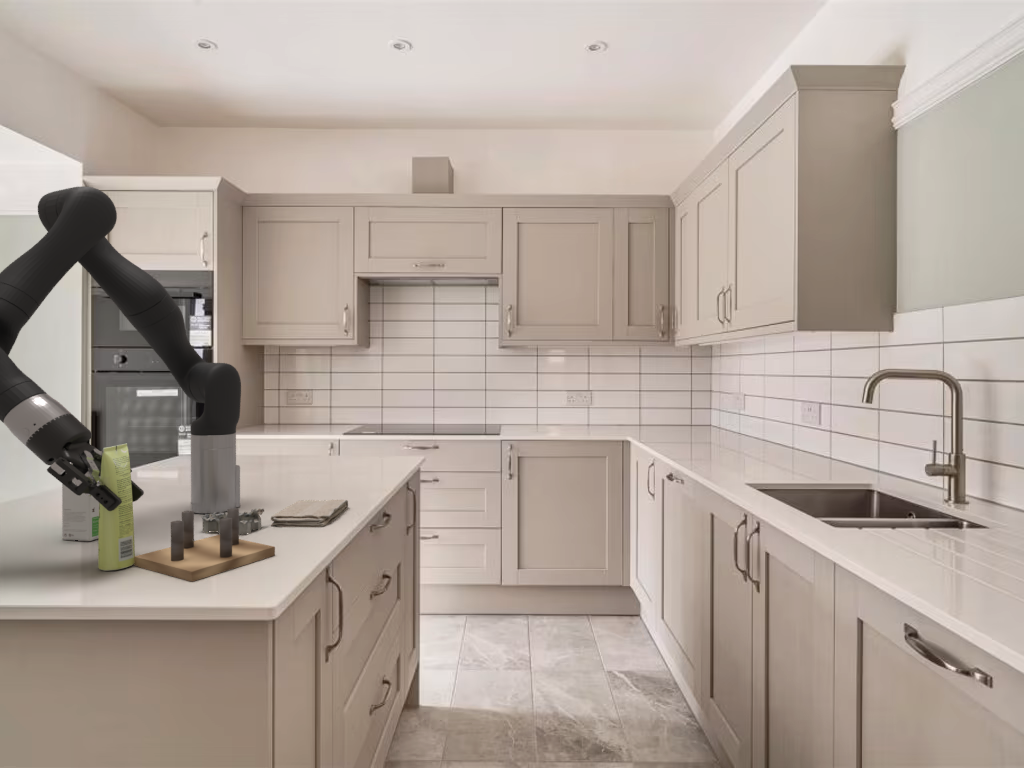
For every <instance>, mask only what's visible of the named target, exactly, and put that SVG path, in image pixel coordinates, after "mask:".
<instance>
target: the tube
mask: <svg viewBox="0 0 1024 768" xmlns="http://www.w3.org/2000/svg"><path fill="white" fill-rule="evenodd" d="M102 451H103V454H102V463H101V478H100V479H101V481H102V483H103V485H106V486H107V487H108V488H109V489H110V490H111V491H112V492H113V493H115V494H116V495H117V496H118V497H119V498H120V499H121V500H122V503H121V504H120V505H119V506H118V507H117V508H116V509H115V510H113V511H108V510H107V509H106V508H105V507H104V506H102V505H101V504H100V503H99V534H98V542H97V544H98V545H97V546H98V549H97V550H98V551H97V553H98V554H97V556H98V559H97V561H98V563H97V564H98V565H97V566H98V569H99V570H100V571H105V572H108V571H117V570H123V569H125V568H126V569H127V568H128V567H132V566H134V556H136V555H135V554H136V553H135V552H136V551H135V547H136V546H135V524H134V522H135V519H134V506H133V505H134V504H133V503H134V502H133V500H132V484H131V480H132V474H131V473H132V472H131V471H130V469H131V463H130V461H131V460H130V453H129V446H128V443H123V444H117V445H113V446H106V447H103V449H102ZM103 485H102V486H103Z"/></svg>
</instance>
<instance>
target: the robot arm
mask: <svg viewBox="0 0 1024 768" xmlns="http://www.w3.org/2000/svg"><path fill="white" fill-rule="evenodd" d="M37 214H38V218H39V220H40V222H41V224H42V226H43V227H44V229H45V231H47V232H46V234H45V235H44V236H43V237H41V239H40V240H38V241H37V242H36V244H34V245H33V246H32V247H31V248H29V249H28V250H27V251H25V252H24V253H23V254H22V255H20V256H19V257H17V258H16V259H15V260H13V261H12V262H11V263H9V264H8V265H7V266H6V267H5V268H3V270H1V272H0V421H1V422H2V423H3V424H4V425H5V426H6V427H7V428H8V430H9V431H10V432H11V434H13V436H14V437H15V438H17V439H18V440H19V442H21V444H23V445H24V446H26V448H27V449H29V451H31V453H33V454H34V455H35V456H36V457H38V458H39V459H40V460H41V462H43V463H44V464H45V465H47V466H49V467H48V468H47V469H46V472H47V473H49V474H50V475H51V476H53V478H55V479H56V480H58V481H59V482H60V483H61V485H62V484H64V485H65V486H66V487H67V488H69V489H70V490H71V491H72V492H74V493H75V494H76V495H79V496H80V495H82V494H83V493H85V494H86V495H87V496H91V495H92V496H93V497H94V498H95V499H96V500H97V501H98V502H99V503H100V504H101V505H102V506H104V507H105V508H106V509H107V510H108V511H113V510H115V509H116V508H117V507H118V506H119V505H120V504H121V503H122V500H121V499H120V498H119V497H118V496H117V495H116V494H115V493H113V492H112V491H111V490H110V489H109V488H108V487H107V486H106V485H103V483H102V481H101V479H100V478H101V463H102V454H103V450H99V449H98V448H97V447H95V446H94V445H92V444H91V443H90V442H91V441H90V440H91V439H92V436H93V434H92V431H91V430H90V429H89V428H88V427H87V426H86V425H84V423H82V422H81V421H80V420H79V419H78V418H77V417H76V416H75V415H73V414H72V413H71V412H70V410H68V409H67V408H66V407H65V406H64V405H63V404H61V403H60V402H59V401H58V400H56V399H55V398H54V397H52V396H51V395H50V394H48V393H47V392H46V391H45V390H44V389H43V388H42V387H41V386H40V385H38V384H37V383H36V382H35V381H34V380H33V379H32V378H31V377H29V376H28V375H27V374H25V373H24V372H23V371H22V370H21V369H20V368H19V367H18V366H17V364H16V363H15V362H14V361H13V360H12V358H10V356H9V355H10V354H11V351H12V349H13V347H14V346H15V343H16V342H17V338H18V336H19V335H20V332H21V330H22V329H23V328H24V326H25V325H26V324H27V323H28V322H29V321H30V319H31V318H32V316H33V315H34V314H35V312H36V311H37V310H38V309H39V308H40V306H41V304H42V303H43V302H44V300H45V299H46V298H47V297H48V296H49V294H50V293H51V292H52V290H54V288H55V287H56V286H57V285H58V284H59V283H60V281H61V280H62V279H63V277H64V276H65V275H67V273H68V272H69V271H70V270H71V269H72V268H73V267H74V266H75V265H76V264H77V263H79V264H80V266H82V268H84V269H85V271H86V272H87V273H88V274H89V275H90V276H91V277H92V279H93V280H94V281H95V282H96V284H98V286H99V287H100V288H101V290H103V291H104V293H105V294H106V295H107V296H108V297H109V298H110V300H111V301H112V302H113V303H114V304H115V306H116V307H117V308H118V310H119V311H120V312H121V314H122V315H123V316H124V317H125V318H126V320H128V322H129V323H130V324H131V326H133V328H134V329H135V330H136V331H137V332H138V333H139V334H140V335H141V336H142V337H143V339H144V340H145V341H146V343H147V344H148V345H149V346H150V347H151V349H152V350H153V352H155V354H156V355H157V356H158V357H159V359H161V360H162V362H163V363H164V364H165V366H166V368H167V369H168V370H169V372H170V373H171V375H172V376H173V378H174V379H175V381H176V382H177V384H178V385H179V387H180V389H181V390H182V391H183V393H184V394H185V395H186V396H187V397H188V398H189V399H190V400H192V401H194V402H196V403H198V404H199V403H200V404H204V406H203V413H202V414H201V416H200V417H198V418H196V419H194V420H193V421H192V422H191V424H190V511H194V514H211V513H212V514H213V513H214V512H216V514H219V512H221V513H226V512H227V510H228V509H233V508H240V507H241V466H240V465H239V464H237V426H238V423H239V420H240V416H241V402H242V401H241V400H242V399H241V398H242V381H241V376H240V373H239V371H238V370H237V368H236V367H234V366H233V365H232V364H230V363H227V362H226V363H225V362H207V361H205V359H203V357H202V356H200V354H199V353H198V351H196V349H195V348H194V347H193V346H192V344H191V343H190V341H189V339H188V336H187V330H186V324H185V320H184V315H183V312H182V310H181V308H180V307H179V305H178V304H177V303H176V301H175V300H174V299H173V297H172V296H171V294H170V293H169V292H168V291H167V289H166V288H165V287H164V285H162V283H161V282H159V280H157V279H156V278H154V276H152V275H151V274H150V273H148V272H147V271H145V270H144V269H142V268H141V267H139V266H137V265H136V264H134V262H131V261H130V260H129V259H127V258H126V257H124V255H122V254H121V253H120V252H119V251H118V250H117V249H116V248H115V246H113V245H112V244H111V242H110V241H109V240H108V239H107V237H106V236H107V235H109V233H110V232H112V230H113V229H114V228H115V226H116V223H117V220H118V219H117V218H118V216H117V215H118V213H117V209H116V205H115V203H114V202H113V200H112V199H111V197H109V195H107V194H106V193H105V192H104V191H102V190H100V189H99V188H95V187H92V186H86V185H85V186H74V187H67V188H64V189H59V190H55V191H51V192H48V193H46V194H44V195H43V196H41V198H40V199H39V201H38V204H37ZM130 471H131V473H132V472H133V470H132V468H130ZM72 480H73V481H74V482H75V484H76V485H75V484H74V483H73V482H72ZM92 481H93V482H92ZM131 484H132V500H133V503H134V502H137V501H138V500H139V499H140V498H141V497H143V495H144V494H145V492H144V490H143V489H142V488H141V487H139V485H137V484H136V483H135V482H134V481H133V480H132V479H131ZM102 485H103V486H102Z"/></svg>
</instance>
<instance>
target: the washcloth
mask: <svg viewBox="0 0 1024 768" xmlns="http://www.w3.org/2000/svg"><path fill="white" fill-rule="evenodd" d="M347 509H349V501H348V500H347V499H327V500H326V499H324V500H315V499H314V500H313V499H311V500H310V499H309V500H307V499H306V500H304V499H303V500H297V501H296V502H294V503H292V504H289V505H288V506H287V507H285V508H282V509H281V510H280V511H279V512H276V513H275V514H274V513H273V515H271V517H270V521H272V523H271V524H270V527H281V528H282V527H284V528H320V527H321V528H322V527H325V526H327V525H329V524H331V523H332V522H334V521H335V520H336V519H337V518H338V517H340V516H341V515H342V514H343V513H344V512H345V511H347Z"/></svg>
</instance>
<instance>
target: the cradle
mask: <svg viewBox="0 0 1024 768" xmlns="http://www.w3.org/2000/svg"><path fill="white" fill-rule="evenodd" d="M226 512H227V514H226V515H227V518H222V519H220V534H216V535H212V536H208V537H205V538H200V539H197V540H195V513H194V511H191V510H184V511H181V520H174V521H171V522H170V547H166V548H161V549H158V550H153V551H149V552H146V553H141V554H138V555H135V556H134V564H133V566H134V567H137V566H138V568H141V569H145V570H148V571H152V572H155V573H159V574H163V575H166V576H170V577H175V578H177V579H181V580H183V581H188V582H195V581H199V580H202V579H205V578H208V577H211V576H214V575H217V574H220V573H223V572H227V571H230V570H233V569H237V568H239V567H242V566H246V565H249V564H252V563H256V562H258V561H262V560H265V559H269V558H271V557H274V556H275V555H276V547H275V546H272V545H268V544H265V543H258V542H254V541H249V540H245V539H240V535H239V513H240V509H239V508H238V507H236V508H233V509H228V510H227V511H226Z"/></svg>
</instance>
